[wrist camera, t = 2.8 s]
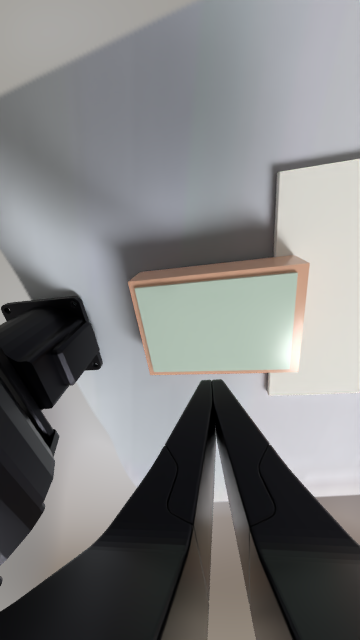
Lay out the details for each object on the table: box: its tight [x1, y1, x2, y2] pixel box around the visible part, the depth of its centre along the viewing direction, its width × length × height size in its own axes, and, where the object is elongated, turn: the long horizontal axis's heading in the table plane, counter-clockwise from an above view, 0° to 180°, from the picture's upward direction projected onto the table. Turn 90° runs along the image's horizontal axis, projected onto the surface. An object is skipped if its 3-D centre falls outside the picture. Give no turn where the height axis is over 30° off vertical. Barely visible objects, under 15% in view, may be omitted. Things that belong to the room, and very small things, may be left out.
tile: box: [128, 255, 310, 375], centre depth 15 cm, size 3×7×10 cm
